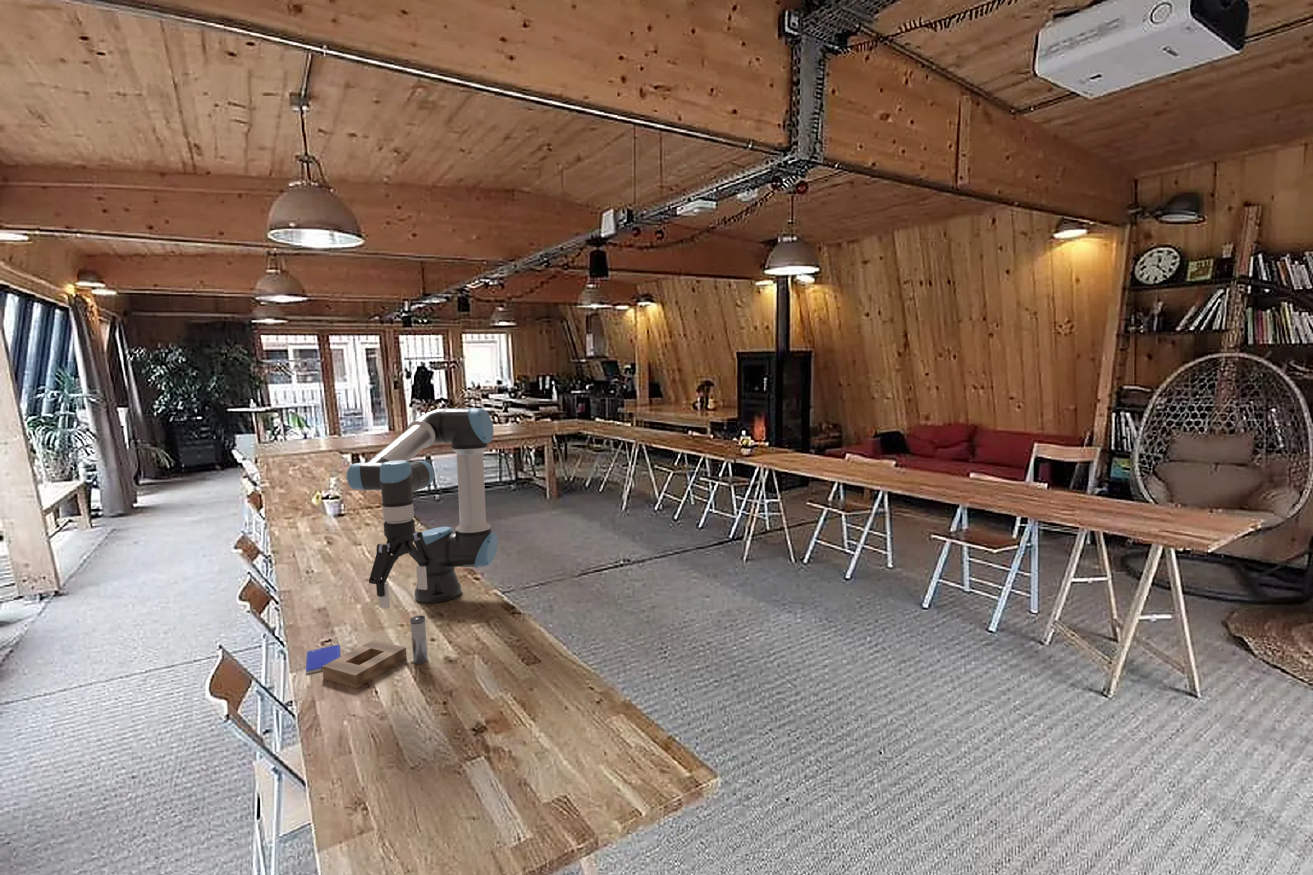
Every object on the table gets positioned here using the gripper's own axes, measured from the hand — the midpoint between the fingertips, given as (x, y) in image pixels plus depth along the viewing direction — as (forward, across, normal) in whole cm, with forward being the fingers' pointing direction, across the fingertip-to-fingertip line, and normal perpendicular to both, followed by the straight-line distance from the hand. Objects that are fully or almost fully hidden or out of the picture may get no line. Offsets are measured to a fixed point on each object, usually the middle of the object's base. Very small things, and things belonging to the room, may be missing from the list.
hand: (404, 598), depth 163 cm
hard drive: (+19, +7, -23) cm, 31 cm away
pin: (+18, -2, +2) cm, 18 cm away
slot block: (+18, +7, -8) cm, 21 cm away
